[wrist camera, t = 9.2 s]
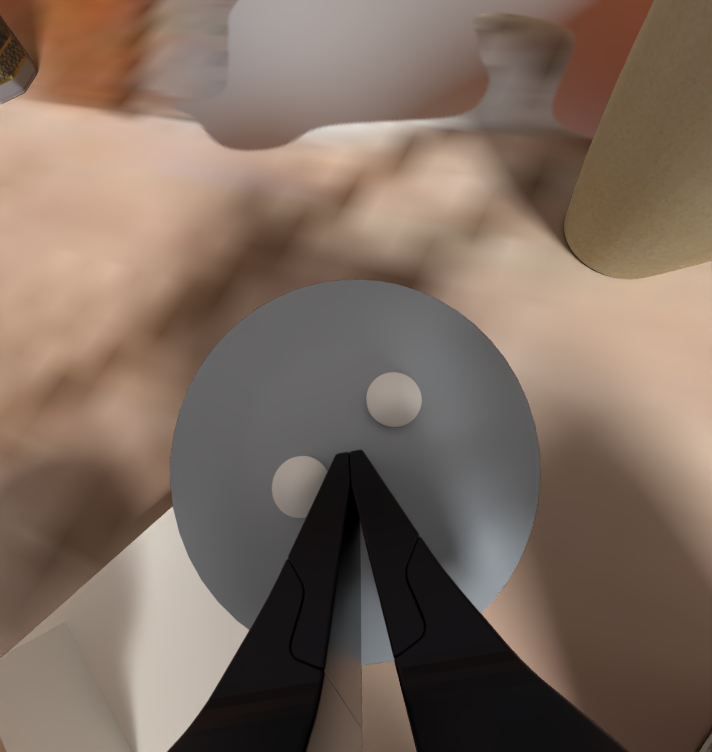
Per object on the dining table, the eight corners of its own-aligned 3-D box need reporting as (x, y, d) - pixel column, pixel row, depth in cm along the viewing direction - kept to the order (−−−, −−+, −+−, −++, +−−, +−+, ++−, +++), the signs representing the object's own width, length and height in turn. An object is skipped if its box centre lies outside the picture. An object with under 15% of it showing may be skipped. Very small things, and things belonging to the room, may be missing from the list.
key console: (387, 325, 19) (392, 284, 15) (491, 425, 17) (537, 415, 13) (-87, 746, 15) (-305, 887, 10) (-19, 943, 13) (-249, 1235, 8)
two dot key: (363, 300, 17) (359, 218, 11) (523, 452, 15) (630, 453, 9) (202, 438, 16) (96, 430, 10) (350, 636, 13) (331, 796, 7)
